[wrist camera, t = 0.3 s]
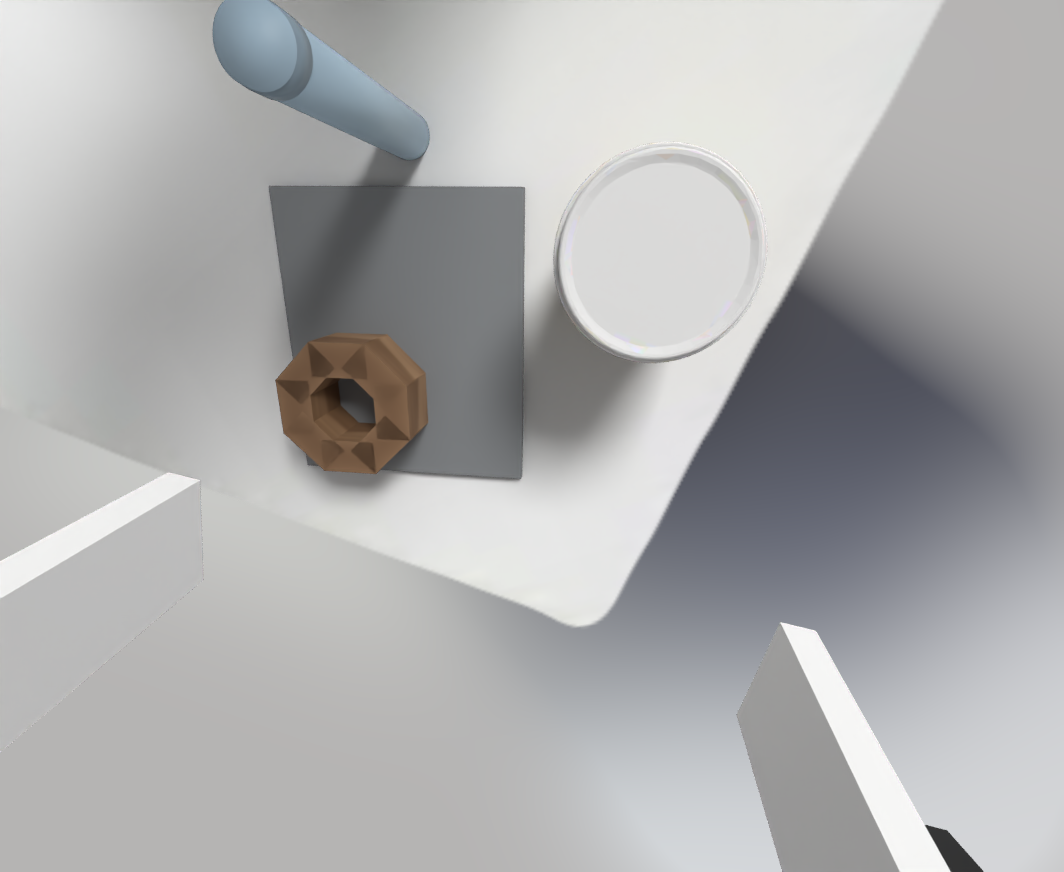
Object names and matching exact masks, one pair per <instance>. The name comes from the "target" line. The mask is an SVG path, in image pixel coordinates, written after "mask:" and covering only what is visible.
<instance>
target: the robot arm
mask: <svg viewBox="0 0 1064 872" xmlns="http://www.w3.org/2000/svg"><path fill="white" fill-rule="evenodd" d="M201 519H202V518H201V488H200V480H198V479H194V478H190V477H186V476H181V475H177V474H173V473H169V472H167V473H166V474H164V475H162V476H160V477H158V478H156V479H154V480H152V481H150V482H149V483H147V484H145V485H143V486H141V487H139V488H137V489H135V490H133V491H132V492H130V493H128V494H126V495H124V496H122V497H120V498H118V499H117V500H115V501H113V502H111V503H109V504H107V505H105V506H103V507H102V508H100V509H98V510H96V511H94V512H92V513H90V514H88V515H86V516H85V517H83V518H81V519H79V520H77V521H75V522H73V523H71V524H69V525H68V526H66V527H64V528H62V529H60V530H58V531H56V532H54V533H52V534H50V535H49V536H47V537H45V538H43V539H41V540H39V541H37V542H35V543H34V544H32V545H30V546H28V547H26V548H24V549H22V550H20V551H18V552H17V553H15V554H13V555H11V556H9V557H7V558H5V559H3V560H1V561H0V752H1V751H3V750H4V749H5V748H6V747H8V745H10V744H11V743H12V742H13V741H14V740H16V739H17V738H18V737H19V736H20V735H22V734H23V733H24V732H25V731H26V730H27V729H29V728H30V727H31V726H32V725H33V724H35V723H36V722H37V721H38V720H39V719H40V718H42V717H43V716H44V715H45V714H46V713H48V712H49V711H50V710H51V709H52V708H53V707H54V706H56V705H57V704H58V703H59V702H60V701H61V700H63V699H64V698H65V697H66V696H67V695H69V694H70V693H71V692H72V691H73V690H74V689H76V688H77V687H78V686H79V685H80V684H82V683H83V682H84V681H85V680H86V679H88V678H89V677H90V676H91V675H92V674H93V673H95V672H96V671H97V670H98V669H99V668H100V667H102V666H103V665H104V664H105V663H106V662H107V661H109V660H110V659H111V658H112V657H113V656H115V655H116V654H117V653H118V652H119V651H120V650H122V649H123V648H124V647H125V646H126V645H127V644H129V643H130V642H131V641H132V640H133V639H135V638H136V637H137V636H138V635H139V634H140V633H142V632H143V631H144V630H145V629H146V628H148V627H149V626H150V625H151V624H152V623H153V622H154V621H155V620H157V619H158V618H159V617H160V616H162V615H163V614H164V613H165V612H166V611H167V610H169V609H170V608H171V607H172V606H173V605H174V604H176V603H177V602H178V601H179V600H180V599H182V598H183V597H184V596H185V595H186V594H188V593H189V592H190V591H191V590H192V589H193V588H195V587H196V586H197V585H198V584H199V583H200V582H202V581H203V580H204V578H203V550H202V549H203V548H202V520H201ZM737 718H738V721H739V725H740V728H741V732H742V735H743V738H744V742H745V745H746V749H747V752H748V756H749V759H750V763H751V765H752V769H753V773H754V776H755V780H756V783H757V787H758V790H759V793H760V797H761V800H762V804H763V807H764V810H765V814H766V817H767V820H768V824H769V828H770V831H771V834H772V838H773V841H774V845H775V848H776V851H777V855H778V858H779V861H780V865H781V869H782V872H983V870H982V869H981V868H980V867H979V866H978V865H977V864H976V862H975V861H974V860H973V859H972V858H971V857H970V856H969V855H968V853H967V852H966V851H965V850H964V849H963V848H962V847H961V846H960V844H958V842H957V841H956V840H955V839H954V838H953V837H952V835H951V834H950V833H949V832H948V831H947V830H943V829H939V828H935V827H931V826H928V825H924V823H923V821H922V820H921V818H920V816H919V815H918V813H917V811H916V809H915V807H914V805H913V803H912V802H911V800H910V798H909V796H908V795H907V793H906V791H905V789H904V787H903V786H902V784H901V782H900V780H899V779H898V777H897V775H896V773H895V771H894V770H893V768H892V766H891V765H890V762H889V761H888V759H887V757H886V755H885V754H884V752H883V750H882V749H881V746H880V745H879V743H878V741H877V740H876V737H875V736H874V734H873V732H872V730H871V729H870V727H869V725H868V723H867V721H866V720H865V718H864V716H863V714H862V712H861V711H860V709H859V707H858V705H857V704H856V702H855V700H854V699H853V696H852V695H851V693H850V691H849V689H848V687H847V686H846V684H845V682H844V680H843V679H842V677H841V675H840V673H839V671H838V670H837V668H836V666H835V664H834V662H833V661H832V659H831V657H830V655H829V654H828V652H827V650H826V648H825V647H824V645H823V643H822V641H821V639H820V637H819V636H818V634H817V632H816V631H814V630H810V629H806V628H802V627H798V626H793V625H789V624H786V623H781V622H780V624H779V626H778V628H777V630H776V632H775V635H774V637H773V639H772V641H771V643H770V645H769V647H768V649H767V651H766V654H765V656H764V658H763V660H762V662H761V664H760V666H759V668H758V670H757V673H756V675H755V677H754V679H753V681H752V683H751V686H750V687H749V689H748V692H747V694H746V696H745V698H744V700H743V702H742V704H741V707H740V709H739V711H738V713H737Z"/></svg>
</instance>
